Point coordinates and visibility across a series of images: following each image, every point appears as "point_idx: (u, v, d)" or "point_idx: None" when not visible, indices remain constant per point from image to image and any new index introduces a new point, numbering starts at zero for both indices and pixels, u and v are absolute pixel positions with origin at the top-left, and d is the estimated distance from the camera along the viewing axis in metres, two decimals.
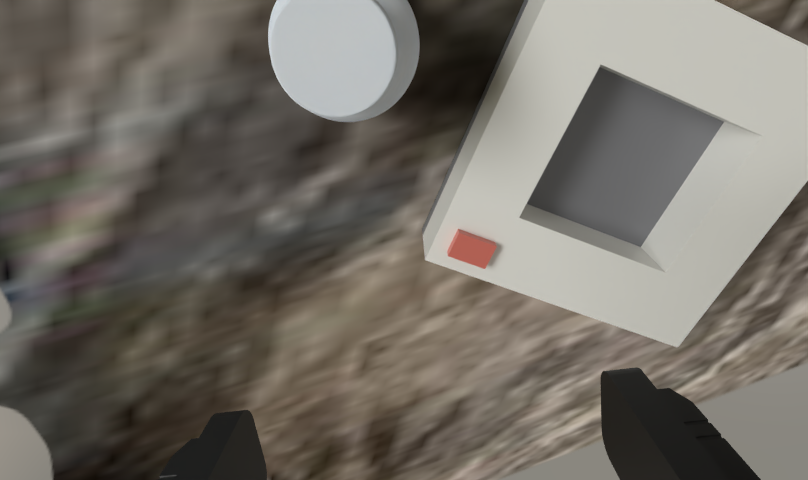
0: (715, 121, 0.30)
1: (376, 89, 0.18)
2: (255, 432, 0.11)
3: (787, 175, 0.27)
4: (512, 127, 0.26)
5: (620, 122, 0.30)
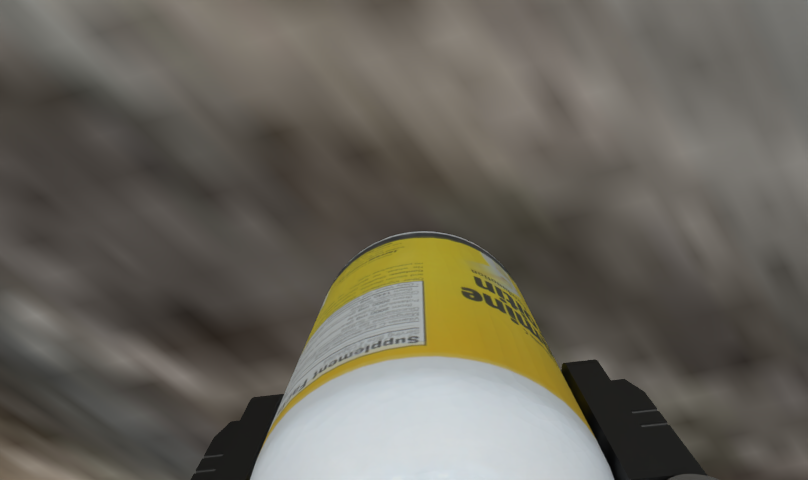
0: None
1: None
2: None
3: None
4: None
5: None
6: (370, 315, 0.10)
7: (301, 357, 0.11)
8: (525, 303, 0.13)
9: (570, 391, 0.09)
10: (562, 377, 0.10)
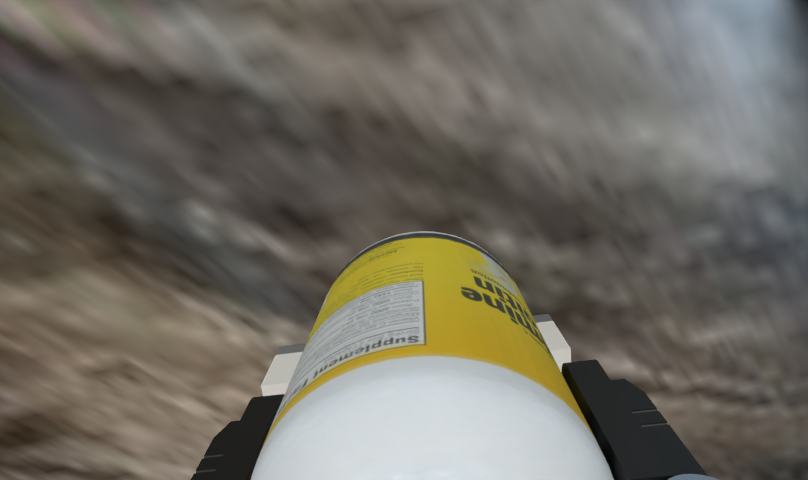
0: None
1: None
2: None
3: None
4: None
5: None
6: (371, 315, 0.10)
7: (301, 357, 0.11)
8: (525, 303, 0.13)
9: (569, 390, 0.09)
10: (561, 377, 0.10)
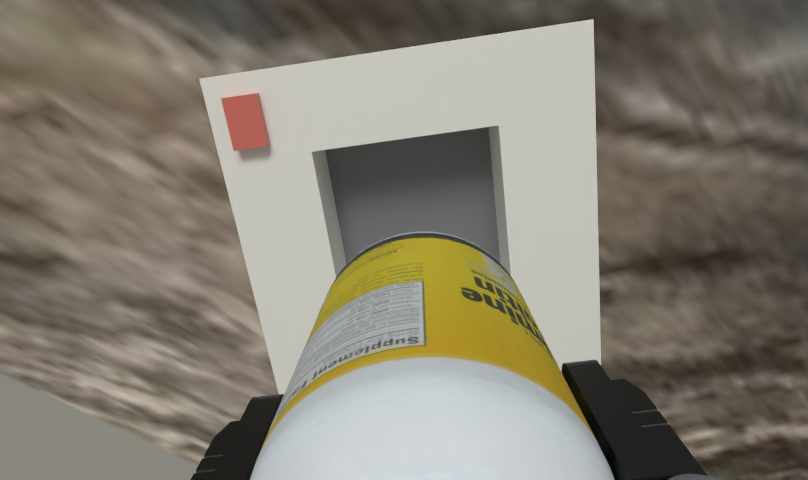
0: None
1: None
2: None
3: None
4: (396, 80, 0.23)
5: (454, 200, 0.28)
6: (370, 315, 0.10)
7: (301, 357, 0.11)
8: (525, 303, 0.13)
9: (570, 391, 0.09)
10: (562, 377, 0.10)
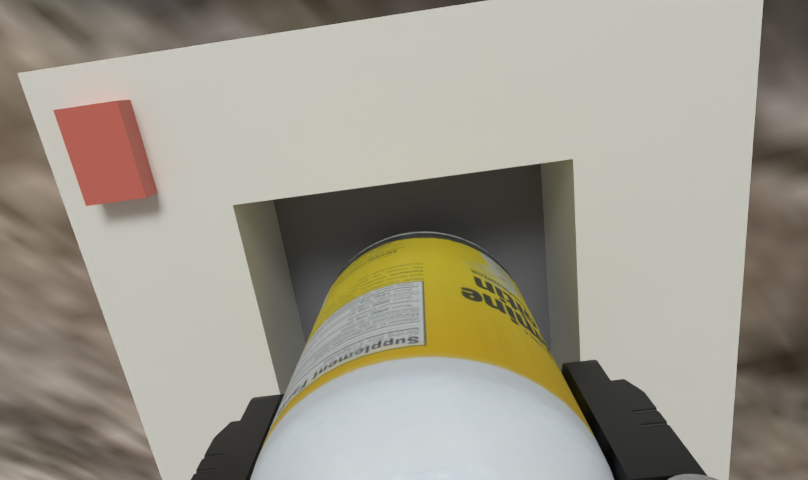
0: None
1: None
2: None
3: None
4: (384, 76, 0.12)
5: None
6: (370, 315, 0.10)
7: (301, 357, 0.11)
8: (525, 303, 0.13)
9: (570, 391, 0.09)
10: (562, 377, 0.10)
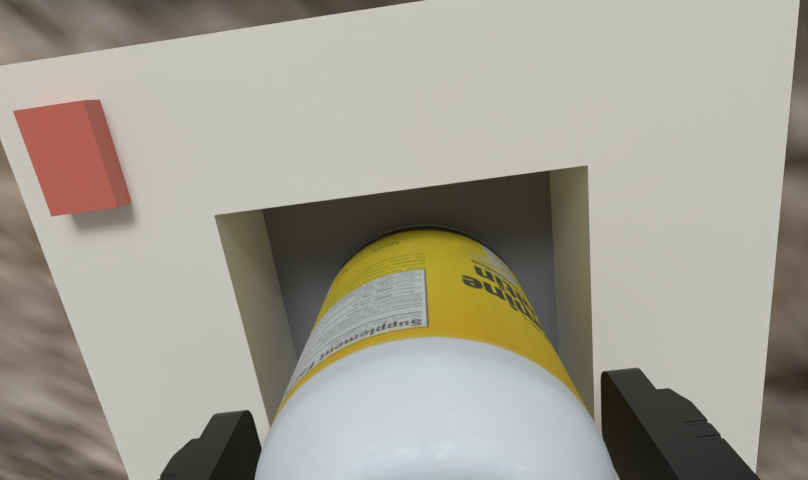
0: None
1: None
2: (255, 432, 0.11)
3: None
4: (380, 73, 0.11)
5: None
6: (375, 301, 0.10)
7: (307, 343, 0.11)
8: (524, 293, 0.14)
9: (567, 374, 0.10)
10: (559, 361, 0.10)
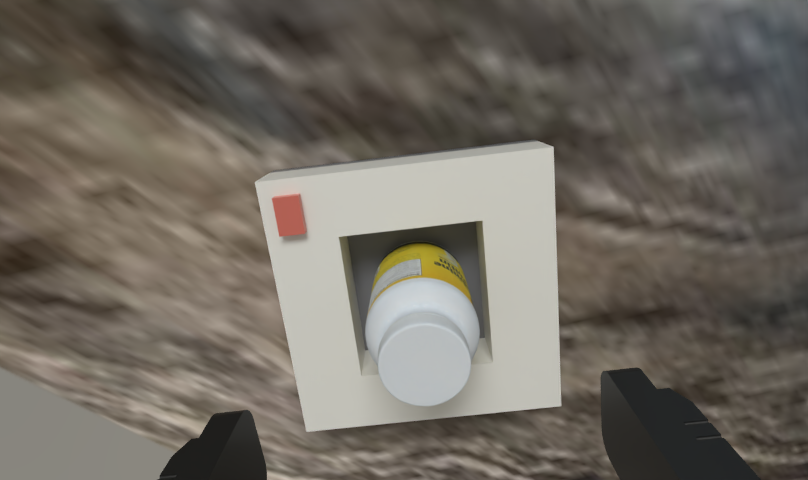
0: (482, 331, 0.37)
1: (416, 400, 0.25)
2: (255, 432, 0.11)
3: (476, 399, 0.34)
4: (405, 186, 0.30)
5: None
6: (403, 268, 0.29)
7: (376, 285, 0.30)
8: (461, 271, 0.33)
9: (468, 294, 0.29)
10: (466, 290, 0.29)
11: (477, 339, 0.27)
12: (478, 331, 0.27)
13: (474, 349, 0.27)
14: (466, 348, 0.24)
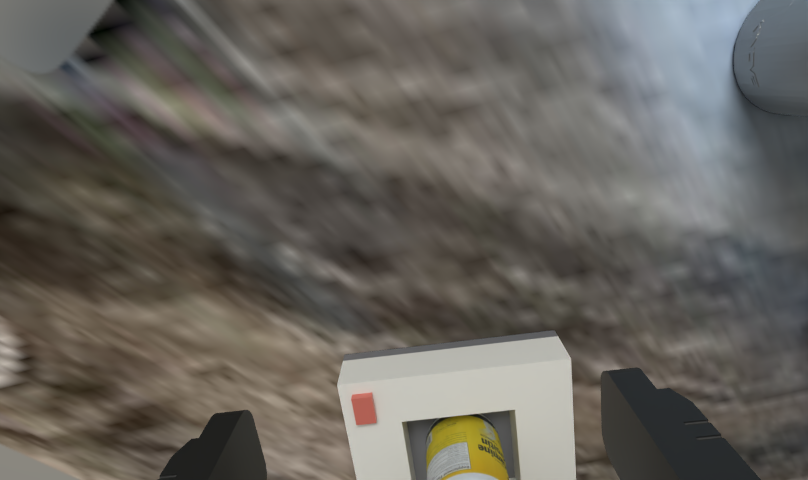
0: (513, 473, 0.45)
1: None
2: (255, 432, 0.11)
3: None
4: (454, 386, 0.38)
5: None
6: (455, 456, 0.37)
7: (433, 464, 0.38)
8: (497, 440, 0.41)
9: (506, 476, 0.37)
10: (504, 472, 0.37)
11: None
12: None
13: None
14: None
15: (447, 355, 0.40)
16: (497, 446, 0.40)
